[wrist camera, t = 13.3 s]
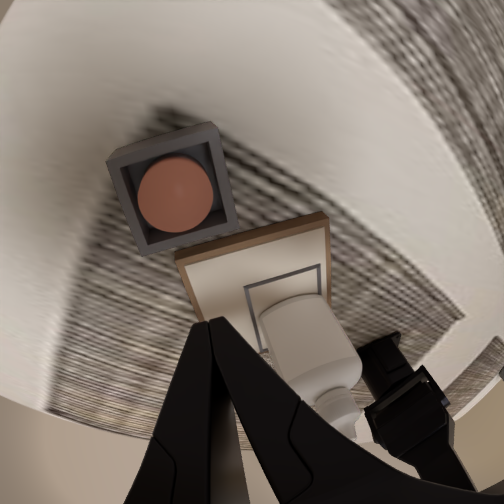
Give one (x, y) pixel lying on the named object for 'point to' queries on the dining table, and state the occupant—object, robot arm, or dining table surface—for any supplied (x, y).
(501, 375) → the water bottle
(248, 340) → the board
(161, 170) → the button
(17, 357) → the dining table surface
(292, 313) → the eye dropper bottle
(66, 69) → the dining table surface
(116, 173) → the button housing
